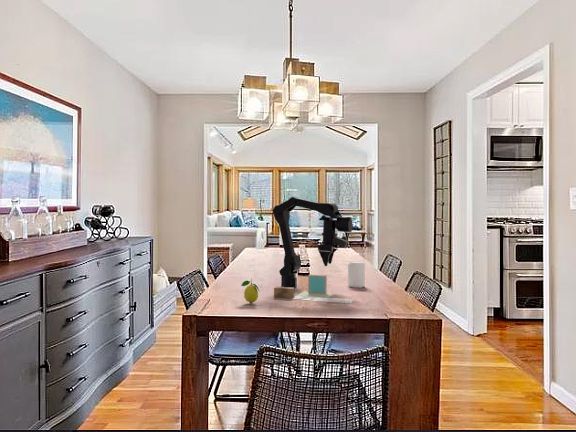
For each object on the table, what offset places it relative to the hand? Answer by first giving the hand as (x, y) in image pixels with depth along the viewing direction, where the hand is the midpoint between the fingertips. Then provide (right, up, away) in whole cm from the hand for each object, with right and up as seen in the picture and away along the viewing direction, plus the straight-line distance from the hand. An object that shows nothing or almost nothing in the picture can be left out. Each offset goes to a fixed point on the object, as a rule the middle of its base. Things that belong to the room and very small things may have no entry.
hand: (327, 264), depth 236 cm
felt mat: (-6, -12, -10) cm, 17 cm away
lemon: (-33, -13, -30) cm, 46 cm away
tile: (-5, -12, -7) cm, 15 cm away
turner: (-16, -13, -18) cm, 27 cm away
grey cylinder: (+15, -12, +14) cm, 24 cm away
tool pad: (+1, -13, -22) cm, 26 cm away
